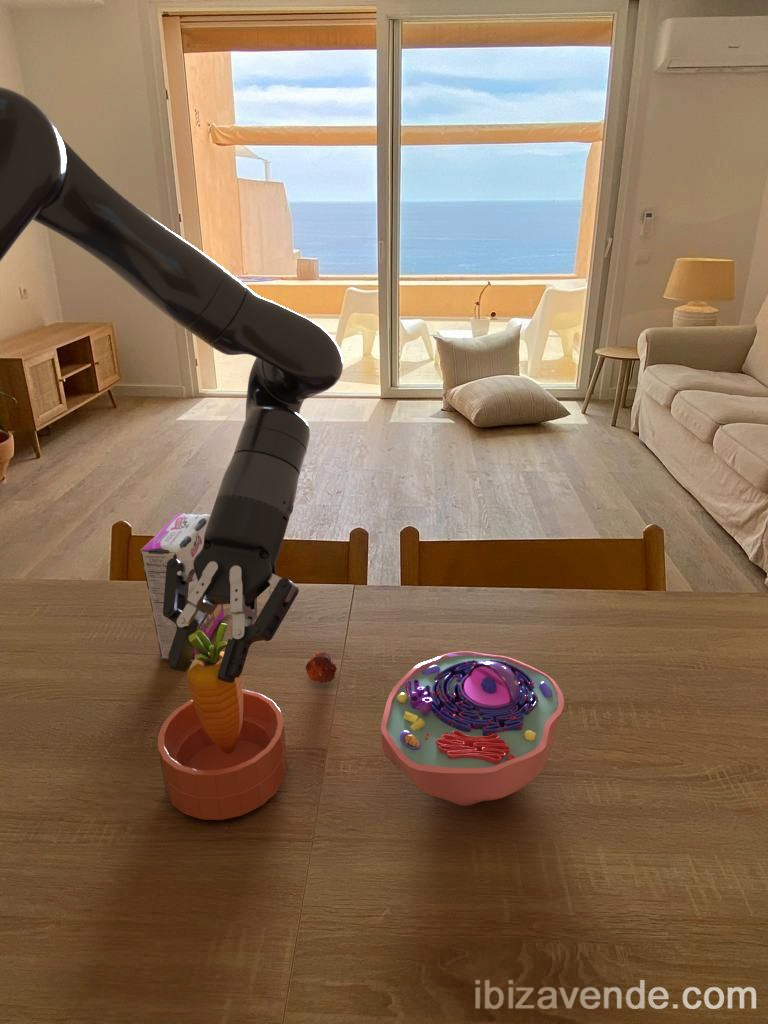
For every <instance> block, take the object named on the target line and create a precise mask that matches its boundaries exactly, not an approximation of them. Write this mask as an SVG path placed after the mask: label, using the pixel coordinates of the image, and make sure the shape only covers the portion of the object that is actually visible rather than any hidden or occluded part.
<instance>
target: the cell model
mask: <svg viewBox="0 0 768 1024" xmlns="http://www.w3.org/2000/svg"><path fill="white" fill-rule="evenodd" d="M564 707H565V697H564V694H563V691H562V689H561V688H560V687H559V685H558V683H557V682H556V681H555V680H554V679H553V678H552V677H551V676H549V675H548V674H547V673H545V672H543V671H541V670H539V669H537V668H535V667H533V666H532V665H529V664H527V663H525V662H523V661H520V660H518V659H515V658H512V657H510V656H506V655H499V654H489V653H482V652H476V651H471V650H470V651H469V650H468V651H467V650H461V651H453V652H448V653H445V654H441V655H439V656H437V657H434V658H432V659H429V660H426V661H423V662H420V663H418V664H416V665H415V666H413V668H411V669H410V670H409V671H408V672H407V673H406V674H405V675H403V677H401V679H399V680H398V682H397V683H396V684H395V685H394V687H393V688H392V690H391V691H390V693H389V695H388V697H387V700H386V704H385V707H384V711H383V716H382V719H381V724H380V735H381V743H382V750H383V753H384V754H385V756H386V758H387V759H388V760H389V761H390V762H391V763H392V764H394V765H395V766H396V767H397V768H398V769H399V770H400V771H401V772H403V773H404V774H405V775H406V777H407V778H408V779H409V780H410V781H411V783H412V784H413V785H414V786H415V787H416V788H417V789H418V790H419V791H420V792H422V793H424V794H426V795H429V796H432V797H436V798H438V799H441V800H444V801H446V802H449V803H452V804H454V805H457V806H461V807H469V806H473V805H476V804H479V803H482V802H487V801H496V800H500V799H503V798H505V797H508V796H511V795H512V794H514V793H516V792H518V791H519V790H521V789H522V788H524V787H526V786H527V785H528V784H530V783H531V782H533V781H535V780H536V779H537V778H538V777H539V776H540V775H541V773H542V772H543V771H544V769H545V767H546V765H547V763H548V759H549V756H550V752H551V750H552V746H553V743H554V740H555V735H556V731H557V728H558V725H559V721H560V719H561V717H562V716H561V715H562V713H563V710H564Z"/></svg>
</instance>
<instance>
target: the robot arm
mask: <svg viewBox="0 0 768 1024" xmlns="http://www.w3.org/2000/svg"><path fill="white" fill-rule="evenodd" d="M33 221H34V222H36V223H38V224H39V225H42V226H44V227H45V228H48V229H49V230H50V231H51V230H52V231H53V232H55V233H56V234H59V235H61V236H62V237H63V238H66V239H67V240H69V241H70V242H72V243H74V244H75V245H77V246H78V247H80V248H81V249H83V250H84V251H86V252H87V253H88V254H90V255H91V256H93V257H94V258H95V259H97V260H98V261H100V263H102V264H103V265H105V266H106V267H107V268H108V269H109V270H110V271H112V272H114V274H116V275H117V276H118V277H120V278H121V279H122V280H123V281H125V282H126V283H127V284H128V285H129V286H130V287H131V288H133V289H134V290H135V291H136V292H138V293H139V294H140V295H141V296H142V297H143V298H145V299H146V300H147V301H148V302H149V303H151V304H152V305H153V306H154V307H156V308H157V309H158V310H160V311H161V312H162V313H164V315H166V316H167V317H169V318H170V319H172V320H173V321H174V322H176V323H177V324H178V325H180V326H181V327H182V328H184V329H185V330H187V331H188V332H190V333H191V334H193V335H194V336H196V337H197V338H199V339H200V340H201V341H203V342H204V343H206V344H207V345H209V346H210V347H211V348H213V349H214V350H216V351H218V352H219V353H221V354H224V355H226V356H241V355H249V356H253V357H255V360H254V361H253V363H252V366H251V369H250V372H249V376H248V381H247V391H246V392H247V393H246V399H245V400H246V401H245V402H246V403H245V418H244V419H245V420H244V423H243V424H242V428H241V431H240V433H239V435H238V440H237V443H236V445H235V448H234V451H233V452H234V453H233V455H232V458H231V460H230V462H229V464H228V466H227V468H226V470H225V472H224V475H223V477H222V480H221V483H220V486H219V489H218V492H217V495H216V498H215V501H214V504H213V508H212V510H211V513H210V519H209V522H208V525H207V528H206V531H205V534H204V545H203V548H202V550H201V551H200V553H199V554H198V555H197V556H196V557H195V559H194V560H189V561H181V562H180V561H178V560H177V559H174V558H172V559H170V560H169V561H168V562H167V567H166V579H165V591H164V604H163V615H164V616H165V617H167V618H168V619H170V620H171V621H173V622H174V623H175V624H176V626H177V630H176V634H175V637H174V640H173V643H172V646H171V650H170V652H169V655H168V660H167V661H168V662H169V668H170V669H171V670H175V671H179V672H183V673H186V672H188V670H189V668H190V665H191V662H190V661H191V658H192V655H193V651H194V647H193V645H192V644H191V642H190V641H189V636H190V635H191V634H193V633H195V632H196V631H198V630H199V629H200V627H201V626H202V624H203V623H204V621H205V619H206V618H207V616H208V615H209V614H212V613H213V612H214V610H215V609H216V607H217V606H218V604H221V605H222V604H223V605H229V611H230V614H231V617H232V618H231V619H232V621H231V622H232V624H231V629H232V630H231V636H232V639H231V638H228V639H227V641H226V642H227V645H226V647H225V648H224V651H223V652H224V655H223V659H222V662H221V665H220V669H219V672H218V679H219V680H221V681H225V682H229V683H233V682H234V680H235V677H237V678H239V676H240V675H241V676H242V673H243V670H244V666H245V664H246V660H247V656H248V653H249V649H250V647H251V645H252V644H254V643H256V642H261V641H264V642H269V641H271V640H272V639H273V638H274V636H275V635H276V633H277V631H278V629H279V628H280V625H281V624H282V622H283V621H284V619H285V616H287V614H288V612H289V610H290V608H291V607H292V605H293V603H294V601H295V600H296V598H297V597H298V594H299V592H300V589H299V587H298V586H297V585H296V583H295V582H293V581H291V580H290V579H288V578H287V577H281V576H279V575H277V571H276V562H277V560H278V558H279V556H280V553H281V549H282V546H283V542H284V538H285V536H286V532H287V529H288V525H289V522H290V518H291V515H292V514H293V511H294V505H295V501H296V496H297V491H298V483H299V479H300V475H301V471H302V469H303V465H304V461H305V458H306V454H307V452H308V447H309V443H310V437H311V433H310V432H311V431H310V426H309V424H308V422H307V420H305V418H303V417H302V416H301V415H300V413H301V408H302V407H303V404H304V401H305V400H307V399H309V398H313V397H314V396H317V395H320V394H322V393H324V392H326V391H328V390H330V389H331V388H333V387H334V386H335V385H336V384H338V382H339V380H340V379H341V376H342V373H343V369H344V368H343V367H344V359H343V355H342V353H341V349H340V347H339V346H338V344H337V342H336V341H335V339H334V338H333V337H332V336H331V334H329V333H328V331H327V330H325V329H324V328H323V326H320V325H319V324H317V323H316V322H315V321H313V320H311V319H309V318H308V317H306V316H303V315H301V314H299V313H297V312H295V311H293V310H291V309H289V308H288V307H287V308H286V307H285V306H283V305H280V304H278V303H276V302H274V301H273V300H269V299H266V298H264V297H261V296H260V295H258V294H257V293H255V292H254V291H253V290H252V289H250V288H249V287H248V286H247V285H246V284H244V283H243V282H242V281H241V280H239V279H238V278H237V277H235V276H234V275H232V274H231V273H230V272H229V271H228V270H226V269H225V268H224V267H223V266H221V265H220V264H218V263H217V262H216V261H215V260H213V259H212V258H210V256H208V255H206V254H205V253H204V252H202V251H201V250H199V249H198V248H197V247H195V245H192V243H190V242H188V241H186V239H183V238H182V237H181V236H180V235H178V234H176V233H175V232H173V231H171V230H170V229H168V228H167V227H166V226H164V225H163V224H161V223H160V222H158V221H157V220H156V219H154V218H153V217H151V216H150V215H149V214H147V213H146V212H144V211H143V210H141V209H140V208H139V207H137V206H136V205H135V204H133V203H132V202H131V201H130V200H128V198H126V197H125V196H124V195H122V194H121V193H120V192H119V191H118V190H116V189H115V188H114V187H112V186H111V185H110V184H109V183H108V182H107V181H106V180H105V179H104V178H102V177H101V176H100V175H99V174H98V173H97V172H96V171H95V170H94V169H93V168H92V167H91V166H90V165H89V164H88V163H87V162H86V161H85V160H84V159H83V158H82V157H81V156H80V155H79V154H78V153H77V152H76V151H75V150H74V149H73V148H72V147H71V146H70V144H68V143H67V141H66V140H65V139H64V138H63V137H62V136H61V135H60V133H59V131H58V129H57V127H56V126H55V124H54V123H53V122H52V120H51V119H50V118H49V116H48V115H47V114H46V113H45V112H44V110H43V109H41V108H40V106H38V105H37V104H36V103H35V102H34V101H33V100H31V99H30V98H28V97H27V96H25V95H23V94H22V93H19V92H18V91H16V90H13V89H10V88H7V87H3V86H0V262H2V260H3V259H4V258H5V256H6V255H7V254H8V252H9V251H10V250H11V248H12V247H13V245H14V244H15V243H16V242H17V240H18V239H19V238H20V236H21V235H22V234H23V233H24V232H25V230H26V229H27V228H28V227H29V225H30V224H31V223H32V222H33ZM194 573H196V576H197V580H198V582H197V584H196V586H195V587H194V589H193V590H192V592H191V593H190V595H189V596H188V589H189V582H192V581H193V575H194ZM268 588H269V589H268ZM267 589H268V595H269V597H268V599H267V600H266V601H265V604H264V606H263V608H262V609H261V611H260V612H259V614H258V598H259V596H261V595H262V594H263V593H264V592H265V591H266V590H267ZM204 597H205V598H206V599H205V600H203V599H204Z"/></svg>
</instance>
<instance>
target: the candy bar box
mask: <svg viewBox="0 0 768 1024" xmlns="http://www.w3.org/2000/svg"><path fill="white" fill-rule="evenodd" d="M210 516H211V514H208V513H207V514H206V513H192V512H191V513H188V512H178V513H176V515H175V516H174V517H172V518H171V519H170V520H169V521H168V523H166V524H165V525H164V526H163V527H162V528H161V529H160V530H159V531H158V532H157V533H156V534H155V535H154V536H153V537H152V538H151V539H150V540H149V541H148V542H147V543H146V544H145V545H144V546H143V547H142V548H141V549H140V550H139V552H140V555H141V561H142V565H143V571H144V576H145V577H144V578H145V581H146V587H147V591H148V597H149V600H150V607H151V610H152V611H151V612H152V618H153V622H154V628H155V632H156V638H157V643H158V648H159V655H160V659H161V660H165V661H166V660H167V661H168V655H169V652H170V650H171V646H172V643H173V640H174V637H175V634H176V630H177V626H176V624H175V623H174V622H173V621H171V620H170V619H168V618H167V617H165V616H164V615H163V604H164V591H165V579H166V567H167V562H168V561H169V560H170V559H172V558H174V559H177V560H178V561H180V562H181V561H189V560H194V559H195V557H196V556H197V555H198V554H199V553H200V551H201V550H202V548H203V545H204V534H205V531H206V528H207V525H208V522H209V519H210ZM197 582H198V580H197V576H196V573H194V575H193V581H192V582H189V589H188V596H189V595H190V593H191V592H192V590H193V589H194V587H195V586H196V584H197ZM205 599H206V598H205V597H204V599H203V600H205ZM224 618H225V612H224V604H222V605H221V604H218V606H217V607H216V609H215V610H214V612H213V613H212V614H209V615H208V616H207V618H206V619H205V621H204V623H203V624H202V626H201V627H200V629H199V630H201V631H202V632H203V633H204V634H205V635H206V637H207V638H208V639H209V640H210V638H211V637H212V636H213V634H214V633H215V631H216V629H217V628H219V627H218V626H220V625H221V622H222V621H223V620H224ZM203 645H204V644H203ZM197 654H200V653H199V652H198V651H197V650H196V649H195V648H194V651H193V655H192V658H191V661H190V663H192V662H193V661H194V660H195V659H196V658H195V655H197Z"/></svg>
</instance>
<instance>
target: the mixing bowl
mask: <svg viewBox="0 0 768 1024" xmlns="http://www.w3.org/2000/svg"><path fill="white" fill-rule="evenodd" d="M286 744H287V743H286V735H285V723H284V718H283V713H282V710H280V708H279V707H278V706H277V704H276V703H275V701H273V700H272V699H270V698H269V697H267V696H265V695H263V694H261V693H259V692H255V691H252V690H251V691H250V690H247V689H243V721H242V727H241V731H240V735H239V738H238V741H237V744H236V746H235V749H234V751H233V752H232V753H230V754H227V753H224V752H223V751H222V750H221V749H220V748H219V747H218V746H217V745H216V744H215V743H214V742H213V741H212V739H211V738H210V737H209V736H208V734H207V733H206V731H205V729H204V727H203V725H202V723H201V721H200V719H199V717H198V715H197V712H196V710H195V706H194V703H193V700H192V699H190V700H188V701H187V702H184V703H183V704H182V705H180V706H178V707H177V708H175V709H174V711H173V712H171V714H170V715H169V716H168V717H167V718H165V720H164V722H163V723H162V726H161V728H160V729H159V731H158V734H157V751H158V756H159V762H160V767H161V772H162V773H161V774H162V779H163V783H164V789H165V793H166V795H167V797H168V799H169V801H170V804H171V805H172V806H174V808H175V809H177V810H178V811H180V812H181V813H182V814H184V815H187V816H188V817H189V816H190V817H193V818H196V819H199V820H204V821H205V820H208V821H210V820H211V821H224V820H228V819H233V818H237V817H241V816H244V815H246V814H248V813H251V812H252V811H255V810H256V809H258V808H261V806H263V805H264V804H266V802H268V801H269V800H270V799H271V798H272V797H273V796H275V795H276V794H277V792H278V790H279V789H280V787H281V786H282V785H283V783H284V781H285V780H286V775H287V770H288V756H287V746H286Z"/></svg>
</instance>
